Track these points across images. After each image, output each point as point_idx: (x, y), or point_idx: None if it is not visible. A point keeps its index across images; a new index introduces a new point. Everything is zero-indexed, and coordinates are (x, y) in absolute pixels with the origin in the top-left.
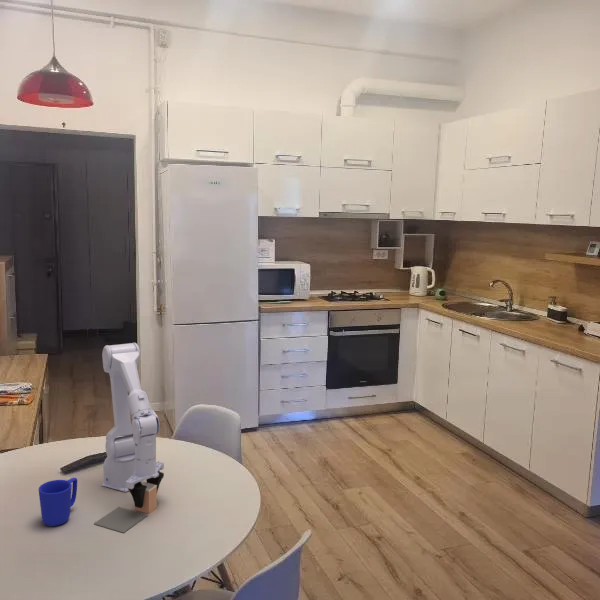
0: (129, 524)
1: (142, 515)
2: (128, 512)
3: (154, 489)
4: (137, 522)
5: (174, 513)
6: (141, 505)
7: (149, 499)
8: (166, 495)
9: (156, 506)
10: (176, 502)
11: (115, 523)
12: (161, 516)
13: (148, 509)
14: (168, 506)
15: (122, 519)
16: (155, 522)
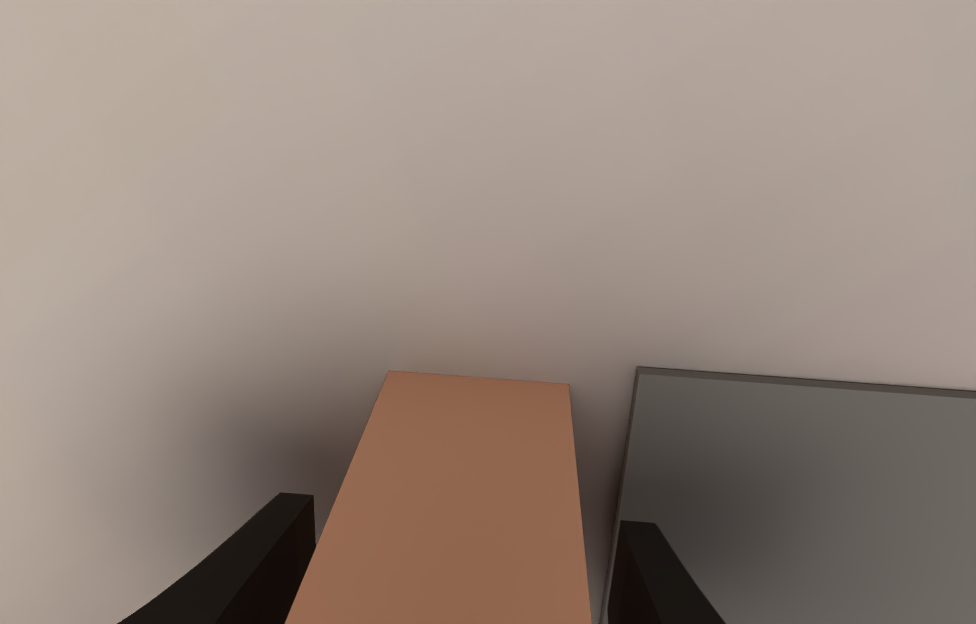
0: (959, 455)
1: (678, 427)
2: None
3: (380, 612)
4: (878, 390)
5: (402, 27)
6: (667, 546)
7: (563, 519)
8: (33, 429)
9: (388, 383)
10: (100, 196)
11: (972, 609)
12: (572, 176)
13: (568, 424)
14: (264, 243)
15: (851, 588)
16: (772, 162)
